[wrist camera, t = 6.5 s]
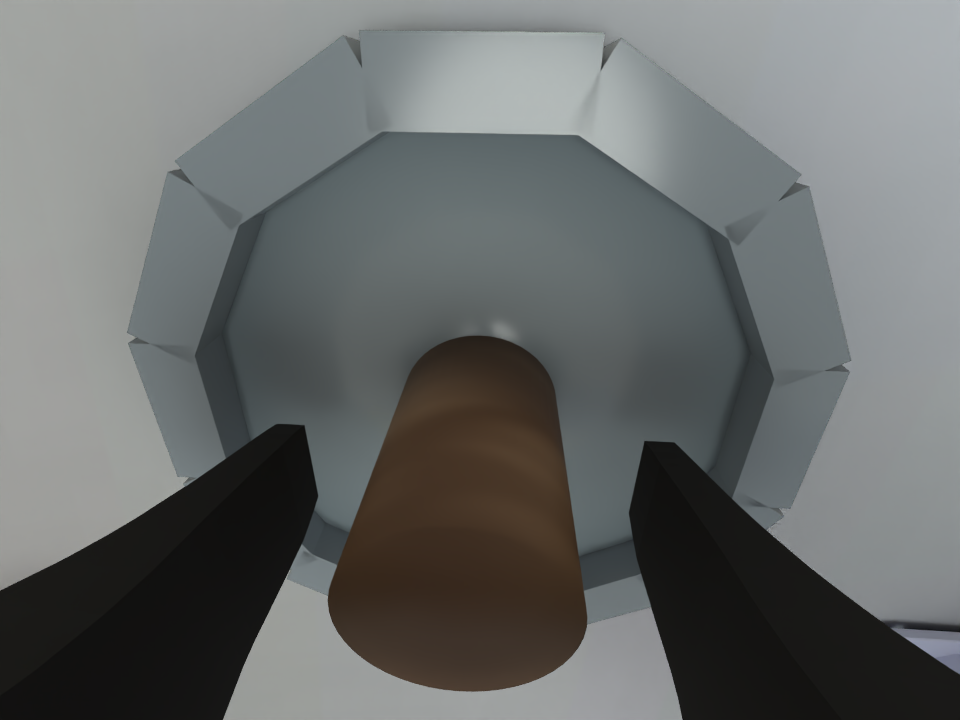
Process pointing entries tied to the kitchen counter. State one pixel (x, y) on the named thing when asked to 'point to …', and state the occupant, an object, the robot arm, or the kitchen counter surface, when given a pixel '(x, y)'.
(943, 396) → the kitchen counter surface
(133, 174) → the kitchen counter surface
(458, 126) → the slate dish
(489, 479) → the walnut cylinder
